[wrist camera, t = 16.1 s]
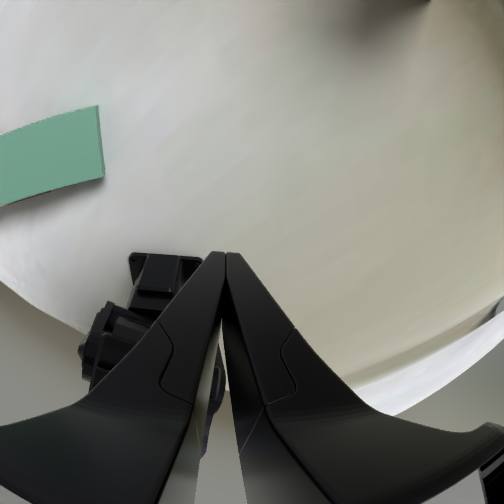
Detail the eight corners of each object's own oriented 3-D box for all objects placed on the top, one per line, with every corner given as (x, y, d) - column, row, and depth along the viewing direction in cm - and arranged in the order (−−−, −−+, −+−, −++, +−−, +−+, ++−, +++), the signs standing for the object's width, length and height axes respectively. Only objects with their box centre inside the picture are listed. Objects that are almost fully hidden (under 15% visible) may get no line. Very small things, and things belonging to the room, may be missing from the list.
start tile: (95, 106, 13) (-15, 143, 10) (103, 177, 16) (0, 206, 13) (98, 105, 15) (-5, 138, 12) (105, 169, 18) (7, 196, 14)
